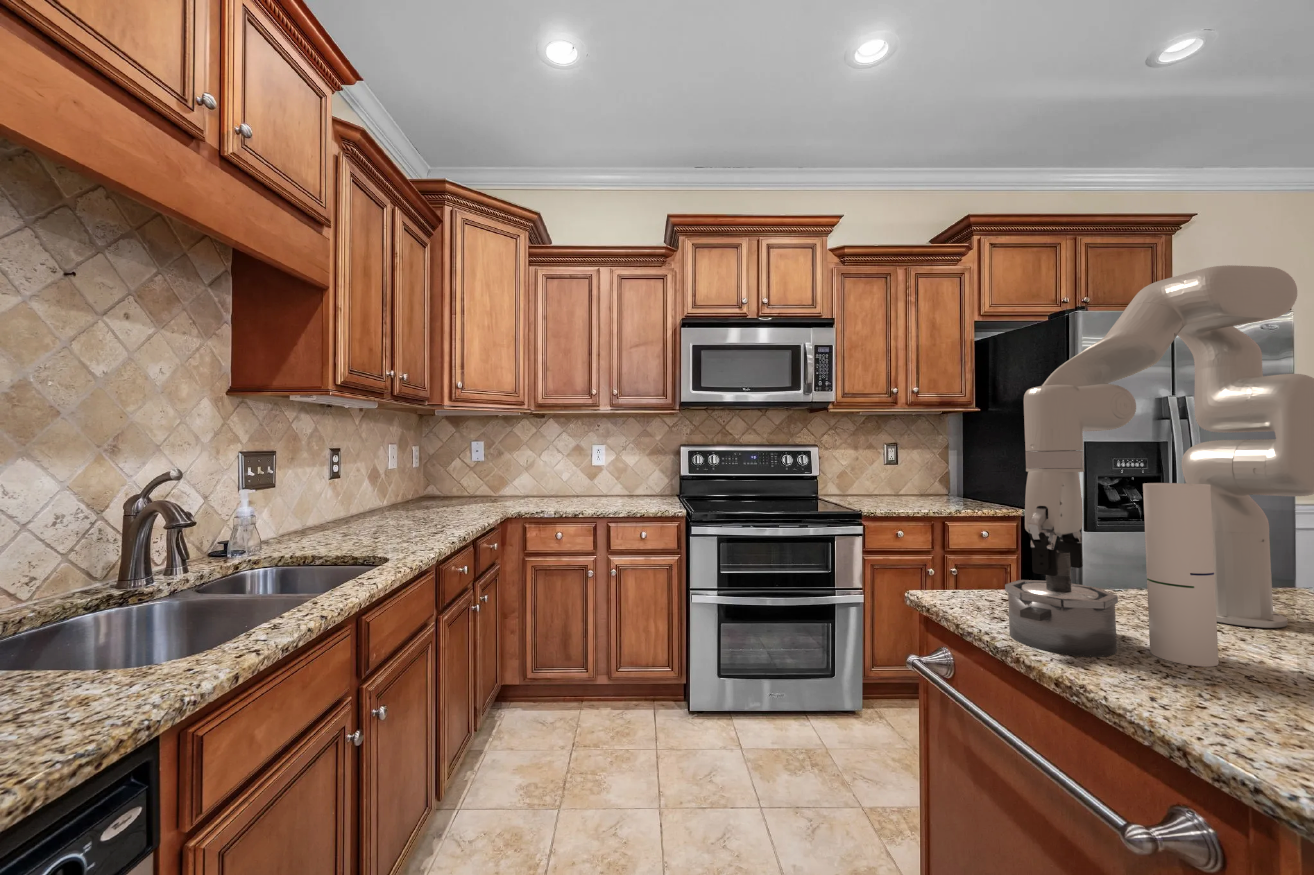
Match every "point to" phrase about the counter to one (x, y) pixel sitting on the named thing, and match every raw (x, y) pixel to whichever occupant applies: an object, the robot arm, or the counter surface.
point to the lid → (1060, 583)
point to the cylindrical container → (1180, 573)
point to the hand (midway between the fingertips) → (1058, 570)
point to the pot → (1063, 621)
